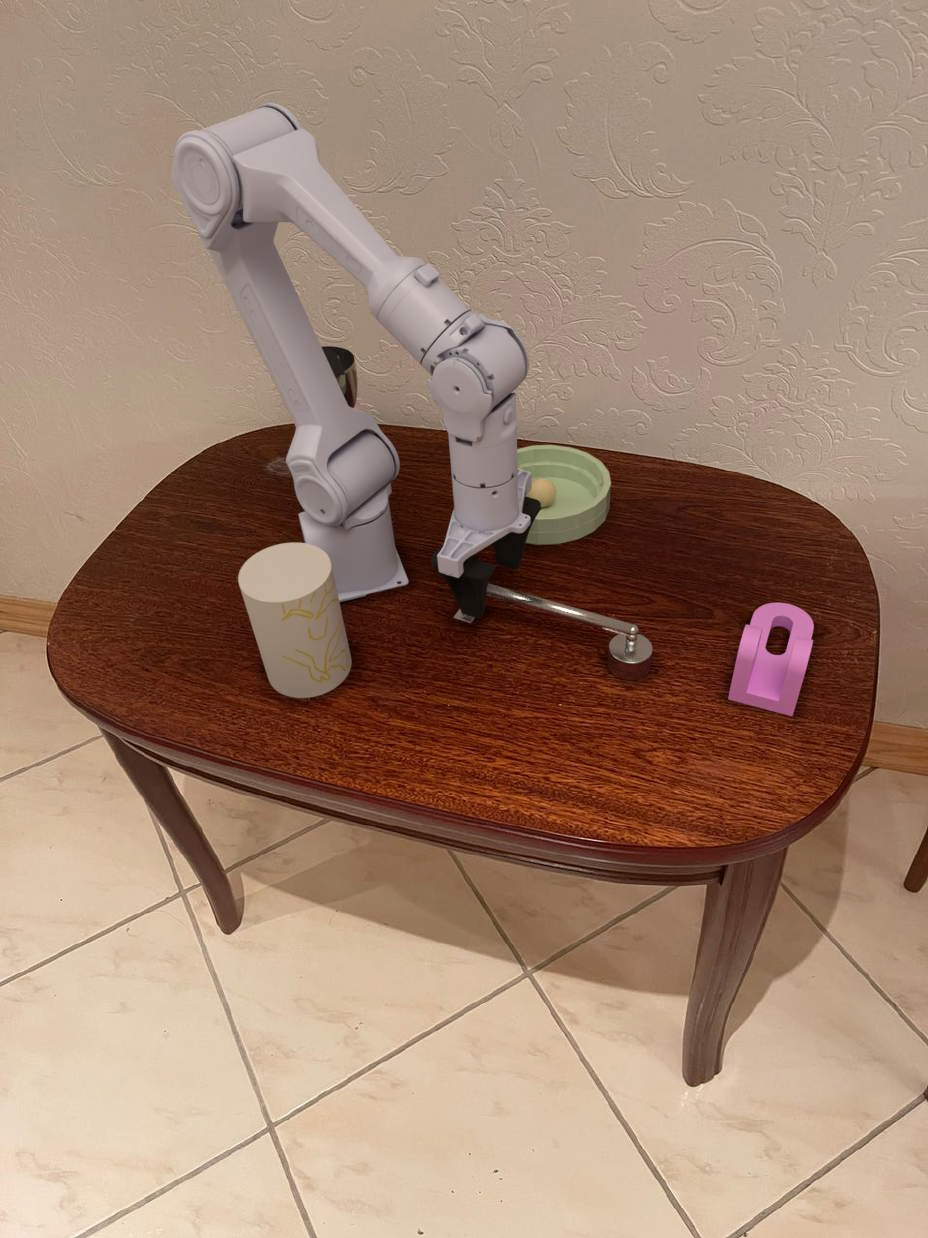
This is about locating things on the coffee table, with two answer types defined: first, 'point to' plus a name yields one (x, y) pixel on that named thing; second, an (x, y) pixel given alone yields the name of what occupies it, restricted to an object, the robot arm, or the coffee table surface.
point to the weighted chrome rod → (625, 649)
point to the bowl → (567, 492)
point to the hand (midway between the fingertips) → (490, 589)
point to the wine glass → (343, 371)
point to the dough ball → (543, 492)
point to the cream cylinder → (296, 618)
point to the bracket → (772, 659)
